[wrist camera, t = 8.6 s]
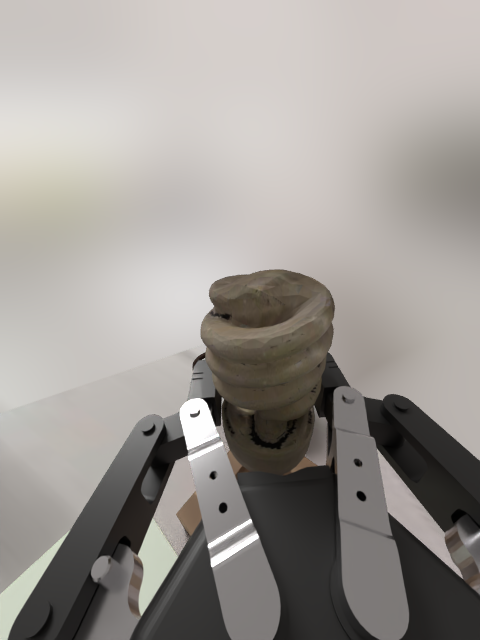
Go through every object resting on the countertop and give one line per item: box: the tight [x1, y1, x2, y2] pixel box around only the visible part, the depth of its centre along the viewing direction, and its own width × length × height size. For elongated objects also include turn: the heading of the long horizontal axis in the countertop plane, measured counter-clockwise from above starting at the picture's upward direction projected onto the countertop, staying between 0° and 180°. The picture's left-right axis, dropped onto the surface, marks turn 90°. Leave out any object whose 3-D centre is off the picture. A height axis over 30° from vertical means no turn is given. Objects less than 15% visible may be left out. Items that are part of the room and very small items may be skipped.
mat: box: [0, 518, 178, 640], centre depth 17 cm, size 12×12×1 cm
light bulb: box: [201, 270, 335, 476], centre depth 12 cm, size 6×6×15 cm
